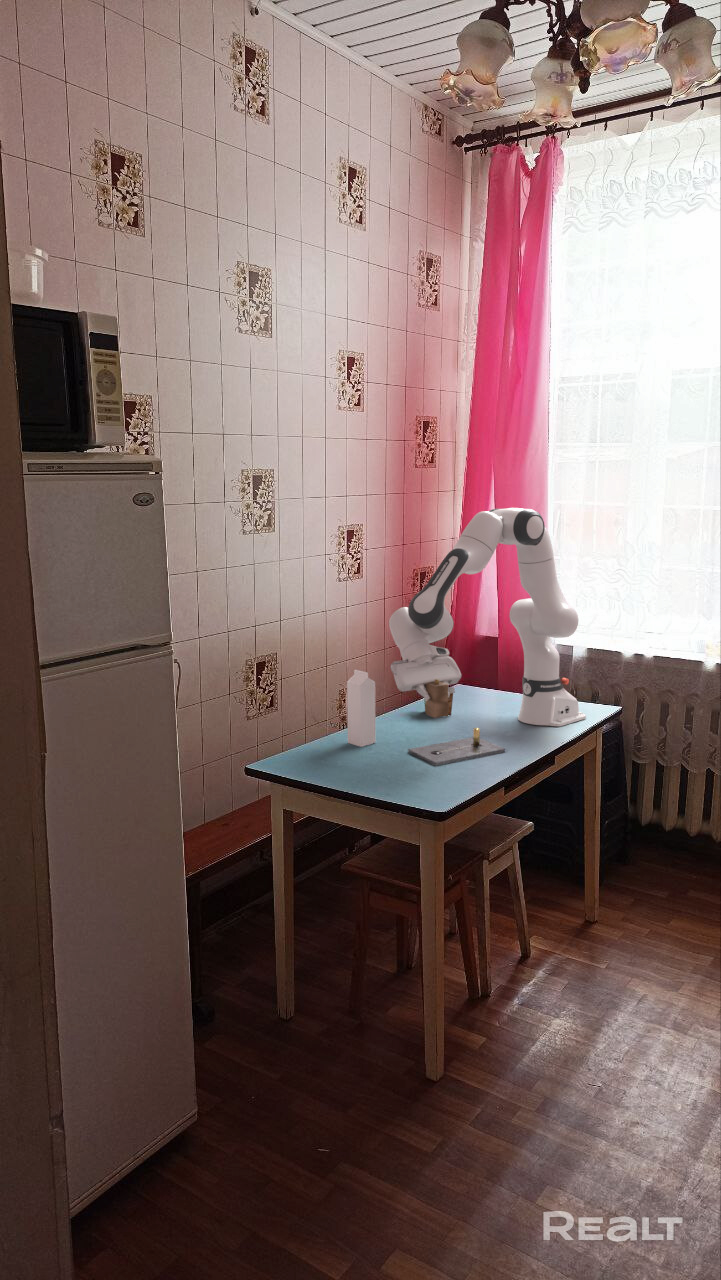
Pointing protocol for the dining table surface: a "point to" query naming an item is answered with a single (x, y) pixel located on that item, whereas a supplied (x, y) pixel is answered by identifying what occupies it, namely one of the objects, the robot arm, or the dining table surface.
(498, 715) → the dining table surface
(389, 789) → the dining table surface
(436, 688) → the walnut peg
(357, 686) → the milk
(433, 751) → the bolt plate
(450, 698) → the food container
